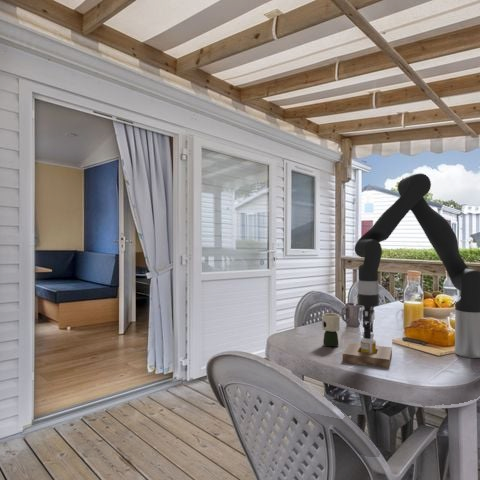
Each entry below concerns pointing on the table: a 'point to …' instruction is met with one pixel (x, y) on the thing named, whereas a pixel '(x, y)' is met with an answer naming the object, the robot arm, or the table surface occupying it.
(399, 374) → the table surface
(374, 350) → the supplement bottle
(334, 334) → the character mug
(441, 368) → the table surface
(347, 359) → the walnut bottle holder
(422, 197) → the robot arm
